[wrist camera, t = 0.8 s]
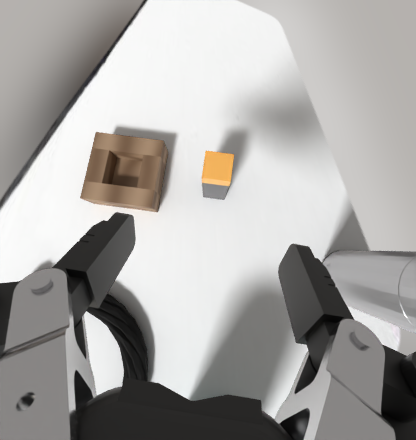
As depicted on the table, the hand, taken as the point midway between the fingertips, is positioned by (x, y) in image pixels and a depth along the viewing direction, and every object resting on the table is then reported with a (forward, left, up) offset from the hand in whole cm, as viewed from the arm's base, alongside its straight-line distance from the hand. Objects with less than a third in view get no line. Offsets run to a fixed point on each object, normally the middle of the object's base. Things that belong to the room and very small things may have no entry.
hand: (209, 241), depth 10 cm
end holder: (+16, -11, -25) cm, 32 cm away
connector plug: (0, -11, -25) cm, 28 cm away
